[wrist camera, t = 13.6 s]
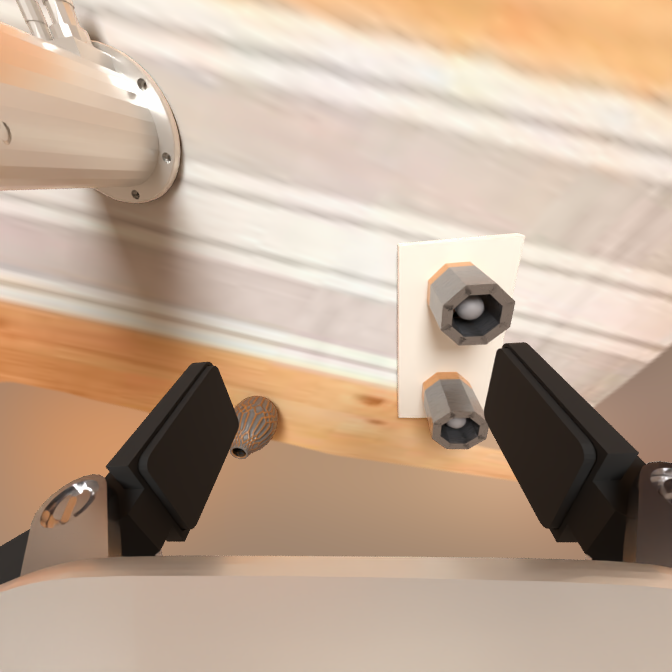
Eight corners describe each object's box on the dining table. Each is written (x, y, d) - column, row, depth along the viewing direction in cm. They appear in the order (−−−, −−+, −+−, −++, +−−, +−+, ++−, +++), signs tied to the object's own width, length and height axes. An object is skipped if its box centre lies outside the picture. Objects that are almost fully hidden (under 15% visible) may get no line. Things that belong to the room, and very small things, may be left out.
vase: (259, 381, 42) (235, 426, 34) (291, 410, 44) (275, 458, 36) (231, 401, 44) (202, 447, 37) (262, 428, 47) (241, 476, 39)
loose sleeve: (428, 264, 30) (444, 286, 23) (487, 260, 29) (519, 282, 23) (426, 314, 32) (439, 346, 26) (479, 312, 31) (506, 343, 25)
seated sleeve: (423, 372, 36) (434, 411, 30) (470, 371, 35) (491, 411, 29) (421, 406, 39) (431, 448, 33) (465, 406, 38) (483, 449, 32)
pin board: (397, 243, 30) (405, 261, 24) (517, 233, 29) (563, 249, 22) (397, 410, 42) (403, 454, 35) (483, 409, 40) (506, 456, 33)
